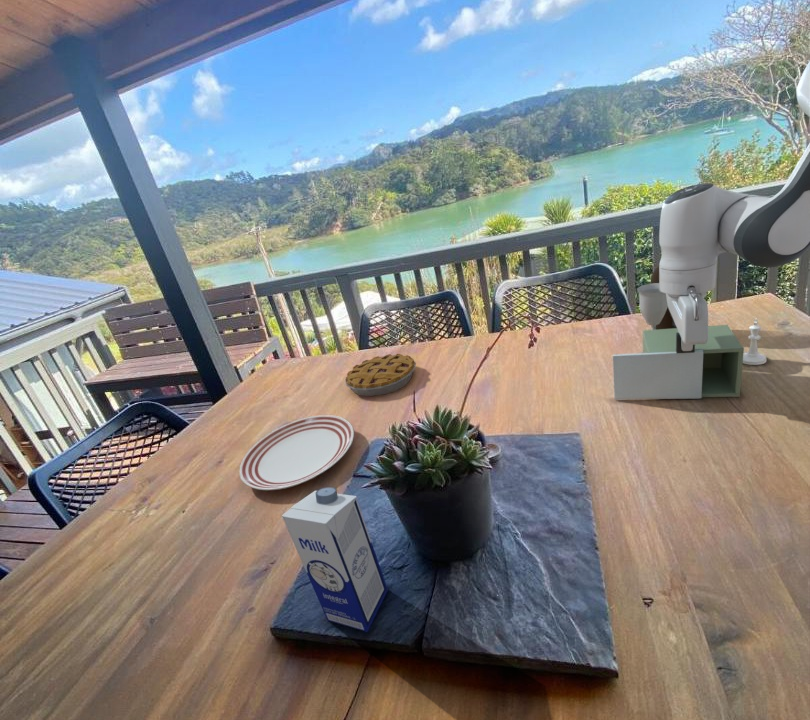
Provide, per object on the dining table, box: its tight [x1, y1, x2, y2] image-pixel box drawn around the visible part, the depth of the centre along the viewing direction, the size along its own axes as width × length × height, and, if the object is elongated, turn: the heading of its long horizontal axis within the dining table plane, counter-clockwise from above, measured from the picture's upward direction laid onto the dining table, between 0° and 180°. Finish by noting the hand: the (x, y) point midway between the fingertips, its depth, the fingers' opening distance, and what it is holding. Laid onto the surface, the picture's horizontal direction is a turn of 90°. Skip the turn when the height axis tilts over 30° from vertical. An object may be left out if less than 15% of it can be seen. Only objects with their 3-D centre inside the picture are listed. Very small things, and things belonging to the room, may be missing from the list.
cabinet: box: [642, 324, 745, 398], centre depth 93 cm, size 12×16×11 cm
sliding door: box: [612, 333, 703, 400], centre depth 89 cm, size 1×16×15 cm, turn 68°
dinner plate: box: [239, 414, 355, 491], centre depth 103 cm, size 27×27×3 cm
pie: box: [344, 353, 417, 397], centre depth 132 cm, size 22×22×5 cm
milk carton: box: [281, 486, 389, 633], centre depth 60 cm, size 7×7×20 cm
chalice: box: [636, 283, 668, 330], centre depth 105 cm, size 7×7×18 cm
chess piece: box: [743, 318, 768, 366], centre depth 96 cm, size 5×5×10 cm
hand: (685, 346), depth 86 cm, fingers closed on sliding door
